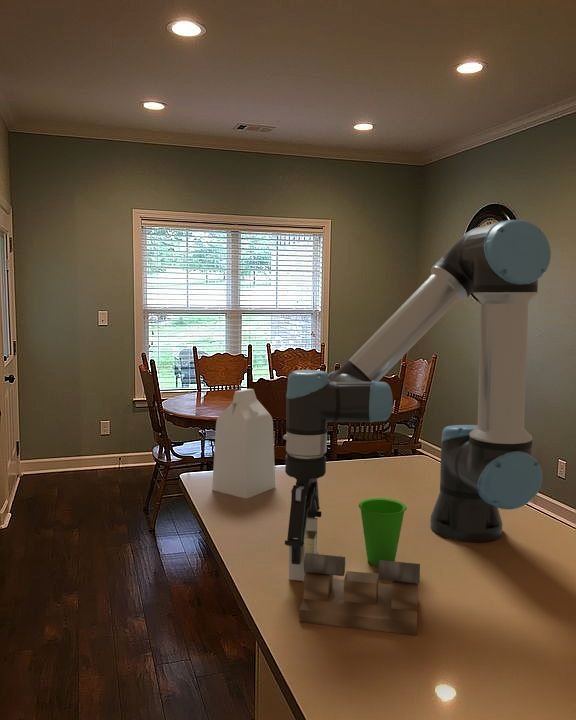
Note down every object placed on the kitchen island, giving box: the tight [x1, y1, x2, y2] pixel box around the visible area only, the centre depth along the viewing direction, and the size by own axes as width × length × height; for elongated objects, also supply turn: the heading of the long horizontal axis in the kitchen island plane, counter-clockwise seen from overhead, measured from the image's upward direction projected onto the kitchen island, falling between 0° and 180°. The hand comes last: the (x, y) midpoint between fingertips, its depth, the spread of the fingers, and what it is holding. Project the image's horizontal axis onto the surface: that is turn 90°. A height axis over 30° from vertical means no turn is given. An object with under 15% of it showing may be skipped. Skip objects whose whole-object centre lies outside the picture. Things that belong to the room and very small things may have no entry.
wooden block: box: [293, 530, 318, 554], centre depth 121 cm, size 4×4×6 cm
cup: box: [358, 497, 407, 567], centre depth 123 cm, size 9×9×11 cm
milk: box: [211, 388, 276, 499], centre depth 167 cm, size 12×12×26 cm
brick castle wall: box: [298, 553, 421, 636], centre depth 104 cm, size 18×12×8 cm, turn 78°
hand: (303, 564), depth 121 cm, fingers open, 13 cm apart
